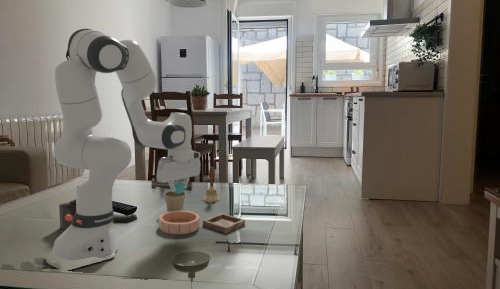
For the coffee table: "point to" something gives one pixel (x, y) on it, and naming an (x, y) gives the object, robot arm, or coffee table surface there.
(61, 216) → the dark grey box
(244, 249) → the coffee table surface
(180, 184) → the ball
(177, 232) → the bowl
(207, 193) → the hand bell
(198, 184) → the coffee table surface
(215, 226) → the tray
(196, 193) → the coffee table surface
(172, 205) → the flower pot
